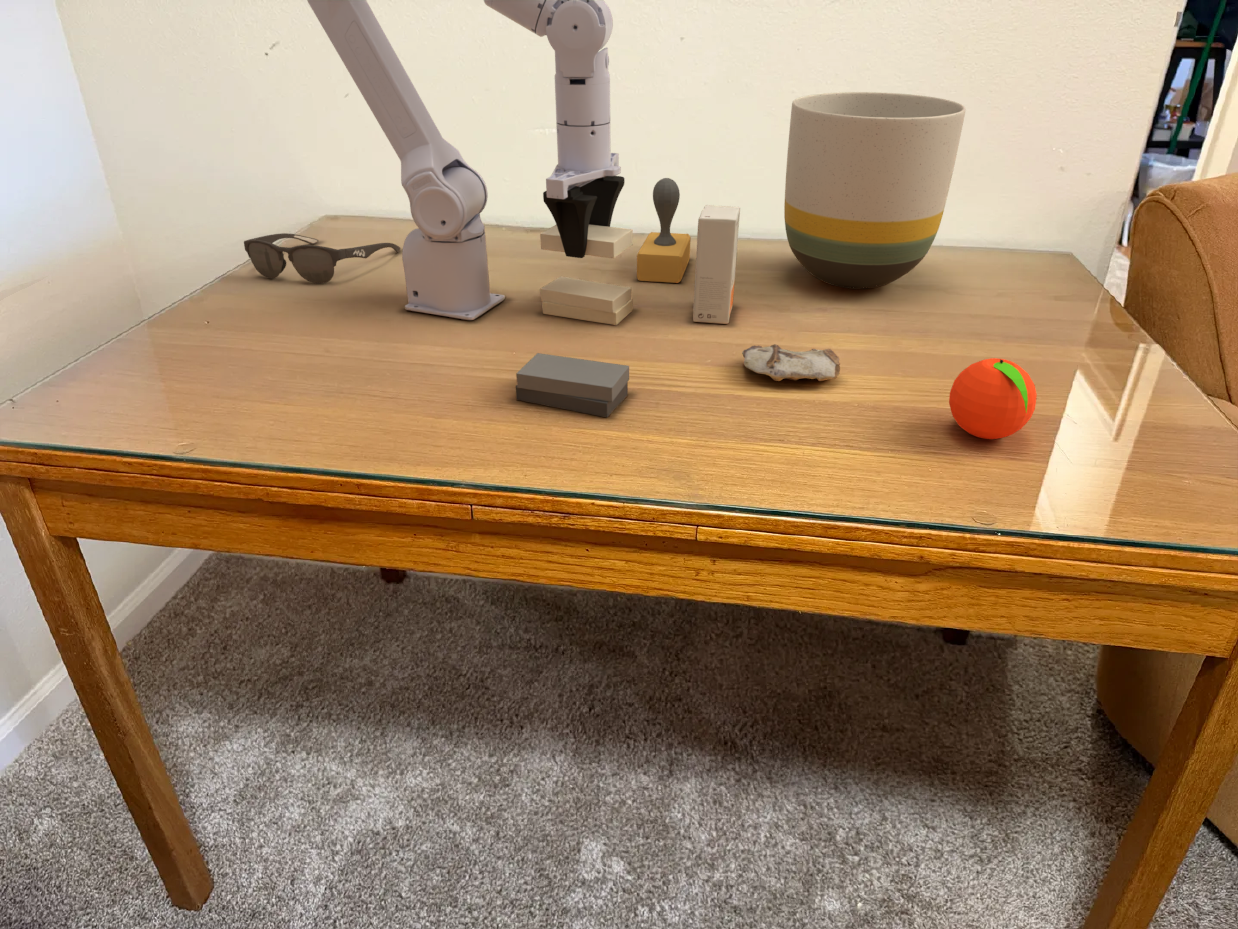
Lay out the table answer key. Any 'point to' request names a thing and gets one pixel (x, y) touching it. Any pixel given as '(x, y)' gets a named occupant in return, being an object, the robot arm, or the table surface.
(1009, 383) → the clementine
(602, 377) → the grey books
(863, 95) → the planter
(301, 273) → the sunglasses
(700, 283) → the cosmetic box
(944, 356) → the table surface
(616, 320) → the white books
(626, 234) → the cream rectangular block
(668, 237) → the rubber stamp
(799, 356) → the stone
